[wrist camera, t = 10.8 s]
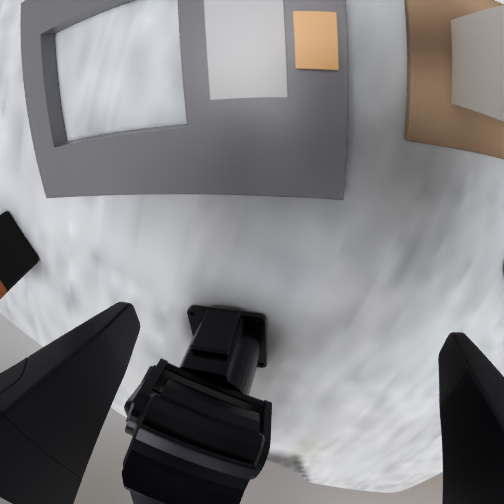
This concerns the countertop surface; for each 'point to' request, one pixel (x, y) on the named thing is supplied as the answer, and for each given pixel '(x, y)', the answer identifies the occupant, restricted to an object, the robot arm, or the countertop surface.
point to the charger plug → (479, 62)
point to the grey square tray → (208, 104)
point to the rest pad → (443, 81)
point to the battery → (13, 254)
